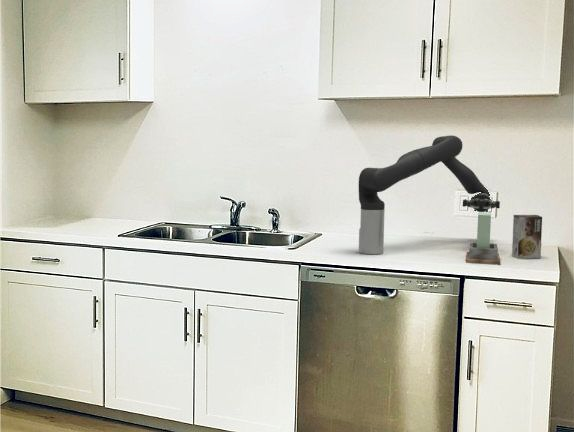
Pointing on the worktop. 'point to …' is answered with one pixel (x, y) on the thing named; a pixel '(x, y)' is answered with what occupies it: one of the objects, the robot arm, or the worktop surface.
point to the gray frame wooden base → (483, 254)
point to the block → (483, 230)
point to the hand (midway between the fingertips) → (480, 205)
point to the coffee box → (527, 236)
